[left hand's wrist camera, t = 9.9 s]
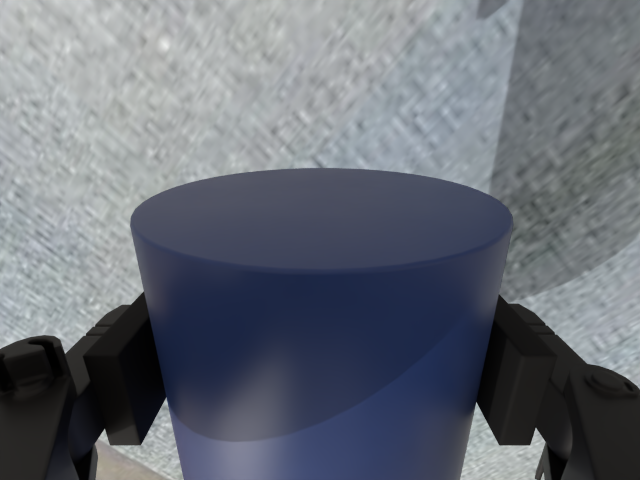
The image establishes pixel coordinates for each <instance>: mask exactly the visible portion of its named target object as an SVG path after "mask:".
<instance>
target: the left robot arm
mask: <svg viewBox="0 0 640 480" xmlns="http://www.w3.org/2000/svg"><path fill="white" fill-rule="evenodd" d="M165 399H166V392H165V388H164V383H163V378H162V374H161V369H160V364H159V359H158V355H157V350H156V345H155V340H154V336H153V331H152V326H151V322H150V317H149V312H148V307H147V303H146V298H145V293H144V292H143V293H142V294H141V295H140V296H139V297H138V298H137V299H136V300H135V301H134V302H133V303H132V304H131V305H121V306H119V307H118V308H116V309H114V310H112V311H111V312H109V313H107V314H106V315H105V316H104V317H103V318H102V319H101V320H100V321H99V322H98V323H97V324H96V325H95V327H92V328H91V329H90V330H89V331H88V332H87V333H86V336H83V337H82V338H81V339H80V340H79V341H78V342H77V343H76V344H75V345H74V346H73V347H72V348H71V349H70V350H69V351H68V352H67V353H66V354H65V353H64V350H63V347H62V344H61V341H60V339H58V338H56V337H55V336H47V335H43V336H36V337H30V338H26V339H23V340H20V341H16V342H14V343H12V344H10V345H8V346H5V347H3V348H1V349H0V480H95V478H96V470H97V461H98V454H97V449H96V446H95V442H96V441H97V439H98V438H99V436H100V435H101V433H102V432H103V430H104V429H105V430H106V433H107V437H108V440H109V443H110V445H141V444H142V442H143V440H144V438H145V436H146V435H147V433H148V431H149V429H150V427H151V425H152V423H153V421H154V419H155V417H156V416H157V414H158V412H159V410H160V408H161V406H162V404H163V402H164V400H165ZM476 402H477V404H478V406H479V408H480V409H481V411H482V413H483V415H484V417H485V419H486V421H487V423H488V425H489V427H490V428H491V430H492V432H493V434H494V436H495V438H496V440H497V442H498V444H499V445H530V444H531V441H532V438H533V434H534V431H535V428H537V430H538V431H539V433H540V434H541V436H542V437H543V438H544V440H545V441H546V443H545V446H544V449H543V452H542V455H541V458H540V461H539V464H538V467H537V470H536V475H535V479H537V480H541V477H542V474H543V472H544V477H545V480H640V389H639V388H638V387H637V386H636V385H635V384H634V383H632V382H631V381H630V380H628V379H627V378H626V377H624V376H622V375H620V374H618V373H616V372H614V371H612V370H609V369H606V368H603V367H600V366H596V365H590V364H587V363H586V362H585V361H584V360H583V359H582V358H580V357H579V356H578V355H577V354H576V353H575V352H574V351H573V350H572V349H571V348H570V347H569V346H568V345H567V344H566V343H565V342H564V341H563V340H562V339H561V338H560V337H559V336H558V335H555V332H554V331H553V330H551V329H550V328H549V327H548V326H546V325H545V323H544V322H543V321H542V320H541V319H540V318H539V317H538V316H537V315H536V314H535V313H534V312H532V311H530V310H528V309H527V308H525V307H523V306H521V305H520V304H508V303H507V302H506V301H505V300H504V299H503V298H502V297H501V296H500V295H498V300H497V305H496V310H495V315H494V319H493V324H492V329H491V334H490V338H489V343H488V348H487V353H486V357H485V362H484V367H483V372H482V377H481V381H480V386H479V391H478V396H477V400H476Z"/></svg>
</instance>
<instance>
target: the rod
mask: <svg viewBox="0 0 640 480" xmlns="http://www.w3.org/2000/svg"><path fill="white" fill-rule="evenodd" d="M130 227H131V232H132V236H133V241H134V246H135V251H136V255H137V260H138V265H139V270H140V274H141V279H142V284H143V288H144V293H145V298H146V303H147V307H148V312H149V317H150V322H151V326H152V331H153V336H154V340H155V345H156V350H157V355H158V359H159V364H160V369H161V374H162V378H163V383H164V388H165V392H166V397H167V402H168V407H169V411H170V416H171V421H172V425H173V430H174V435H175V440H176V444H177V449H178V454H179V459H180V463H181V468H182V473H183V477H184V480H460V477H461V472H462V467H463V462H464V458H465V453H466V448H467V443H468V439H469V434H470V429H471V424H472V419H473V415H474V410H475V405H476V400H477V396H478V391H479V386H480V381H481V377H482V372H483V367H484V362H485V357H486V353H487V348H488V343H489V338H490V334H491V329H492V324H493V319H494V315H495V310H496V305H497V300H498V295H499V291H500V286H501V281H502V276H503V272H504V267H505V262H506V257H507V253H508V248H509V243H510V238H511V234H512V229H513V217H512V214H511V213H510V211H509V210H508V208H507V207H506V206H505V205H504V204H502V203H501V202H500V201H498V200H497V199H495V198H493V197H492V196H490V195H488V194H485V193H483V192H481V191H479V190H476V189H473V188H470V187H468V186H464V185H461V184H457V183H454V182H450V181H446V180H441V179H437V178H431V177H426V176H420V175H414V174H407V173H399V172H389V171H379V170H365V169H342V168H303V169H281V170H267V171H256V172H247V173H239V174H231V175H225V176H219V177H214V178H209V179H204V180H199V181H195V182H191V183H187V184H184V185H181V186H177V187H174V188H172V189H169V190H166V191H163V192H161V193H159V194H157V195H155V196H153V197H151V198H149V199H148V200H146V201H144V202H143V203H142V204H140V205H139V206H138V207H137V208H136V209H135V211H134V212H133V214H132V216H131V223H130Z"/></svg>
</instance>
